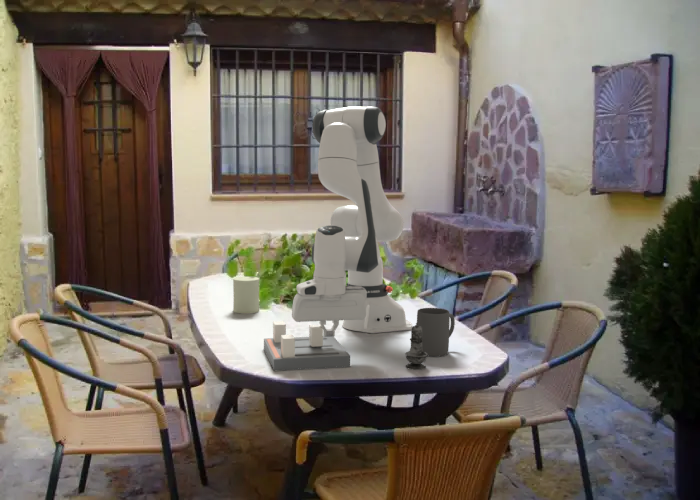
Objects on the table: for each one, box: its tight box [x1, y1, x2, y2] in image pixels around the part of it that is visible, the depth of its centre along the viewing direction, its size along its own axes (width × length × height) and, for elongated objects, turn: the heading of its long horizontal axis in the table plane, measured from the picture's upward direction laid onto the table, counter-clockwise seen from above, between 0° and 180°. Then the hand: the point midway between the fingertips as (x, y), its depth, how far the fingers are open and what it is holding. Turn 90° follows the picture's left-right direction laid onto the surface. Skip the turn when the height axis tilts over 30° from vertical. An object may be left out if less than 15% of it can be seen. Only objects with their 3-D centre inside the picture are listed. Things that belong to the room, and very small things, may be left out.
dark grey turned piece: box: [404, 321, 428, 371], centre depth 196 cm, size 6×6×12 cm
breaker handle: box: [308, 324, 323, 347], centre depth 204 cm, size 3×4×5 cm
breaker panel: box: [263, 320, 351, 371], centre depth 204 cm, size 20×22×8 cm
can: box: [232, 276, 260, 315], centre depth 263 cm, size 9×9×12 cm
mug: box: [416, 307, 456, 358], centre depth 212 cm, size 14×9×12 cm
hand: (328, 336), depth 205 cm, fingers closed
